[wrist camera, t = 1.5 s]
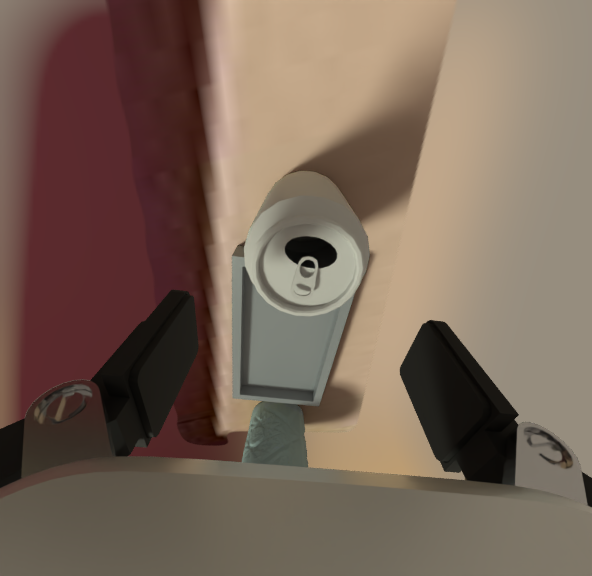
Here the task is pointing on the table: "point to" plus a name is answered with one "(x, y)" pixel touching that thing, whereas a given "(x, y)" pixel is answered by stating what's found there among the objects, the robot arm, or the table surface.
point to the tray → (279, 345)
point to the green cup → (276, 435)
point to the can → (306, 246)
